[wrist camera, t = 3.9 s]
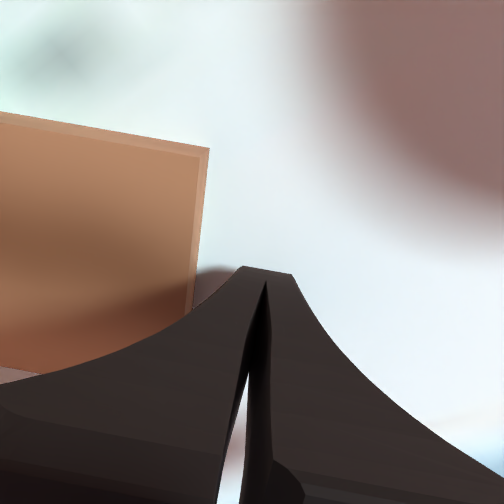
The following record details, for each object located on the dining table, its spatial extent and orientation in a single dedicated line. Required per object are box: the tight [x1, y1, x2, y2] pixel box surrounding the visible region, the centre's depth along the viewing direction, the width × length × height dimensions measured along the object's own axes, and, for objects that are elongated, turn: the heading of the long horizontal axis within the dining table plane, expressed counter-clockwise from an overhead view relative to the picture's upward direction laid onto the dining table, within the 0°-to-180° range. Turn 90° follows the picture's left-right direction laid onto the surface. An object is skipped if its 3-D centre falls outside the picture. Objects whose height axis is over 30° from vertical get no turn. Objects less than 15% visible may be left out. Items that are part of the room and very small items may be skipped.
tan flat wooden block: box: [0, 111, 210, 374], centre depth 11 cm, size 7×9×2 cm
